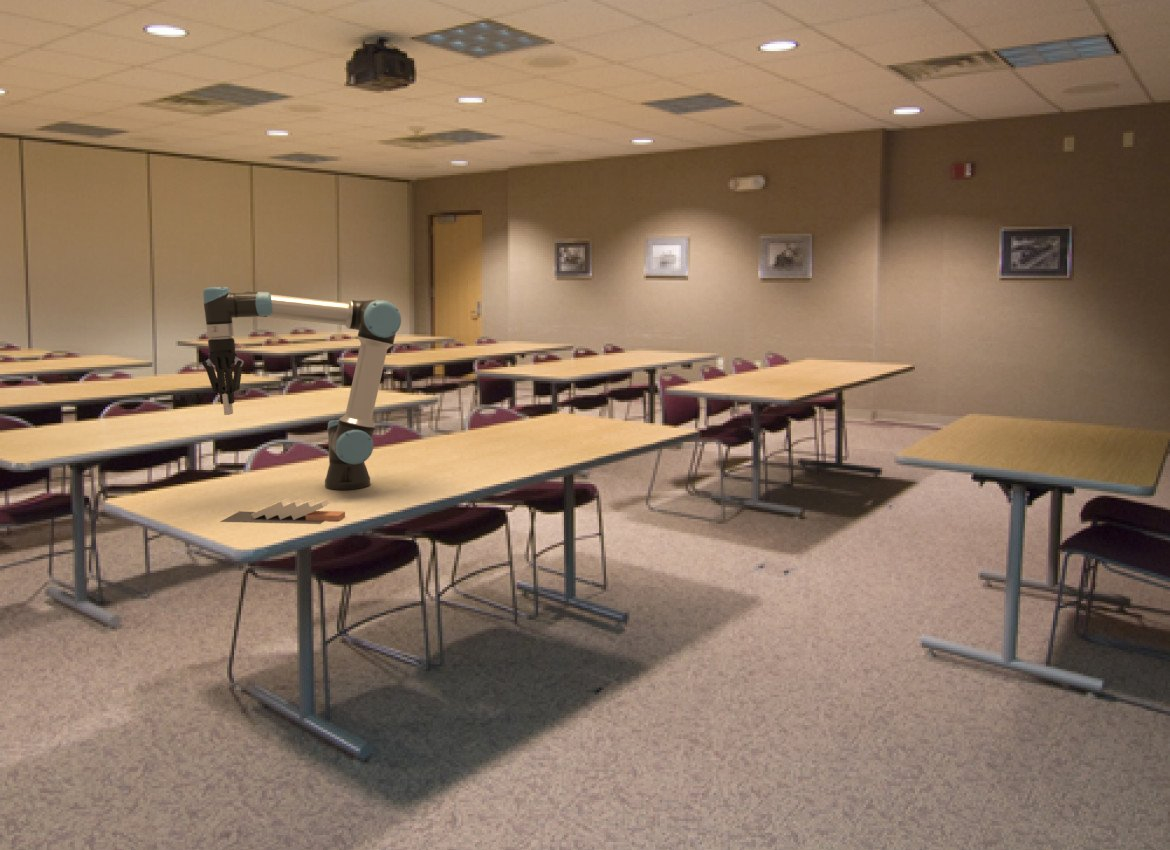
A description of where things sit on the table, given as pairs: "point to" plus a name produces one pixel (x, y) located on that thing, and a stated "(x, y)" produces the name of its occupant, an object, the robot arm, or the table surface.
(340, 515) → the domino
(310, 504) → the domino
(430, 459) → the table surface
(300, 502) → the domino
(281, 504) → the domino
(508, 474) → the table surface
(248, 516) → the mat
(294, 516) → the domino
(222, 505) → the table surface
